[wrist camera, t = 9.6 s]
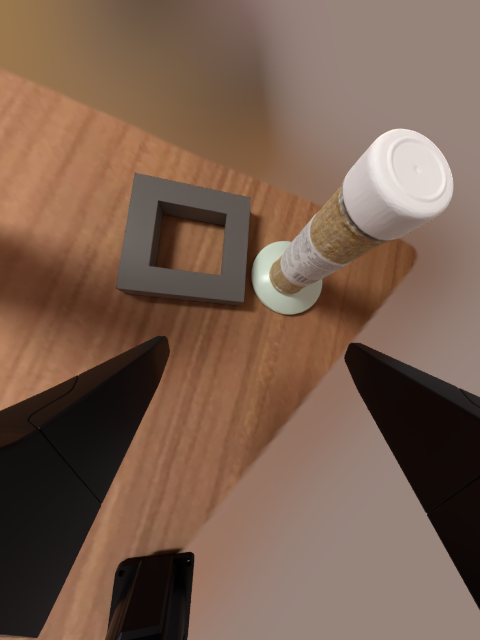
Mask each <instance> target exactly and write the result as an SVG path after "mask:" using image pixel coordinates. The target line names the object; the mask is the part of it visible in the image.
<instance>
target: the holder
mask: <svg viewBox="0 0 480 640" xmlns="http://www.w3.org/2000/svg"><path fill="white" fill-rule="evenodd" d="M250 201H251V198H250V197H245V196H241V195H236V194H231V193H227V192H222V191H217V190H213V189H208V188H204V187H199V186H194V185H190V184H185V183H180V182H176V181H171V180H166V179H162V178H157V177H152V176H148V175H143V174H138V173H135V174H134V180H133V187H132V193H131V199H130V205H129V211H128V217H127V223H126V229H125V236H124V242H123V248H122V254H121V260H120V266H119V272H118V278H117V285H116V288H117V289H118V290H120V291H122V292H124V293H125V294H132V295H142V296H151V297H161V298H171V299H180V300H190V301H199V302H209V303H218V304H228V305H238V306H241V305H242V304H243V302H244V293H245V277H246V262H247V247H248V232H249V217H250ZM163 214H164V215H170V216H175V217H181V218H186V219H192V220H197V221H203V222H208V223H214V224H219V225H225V232H224V244H223V256H222V268H221V276H220V275H212V274H205V273H197V272H190V271H182V270H174V269H167V268H159V267H156V262H157V255H158V247H159V240H160V233H161V225H162V218H163Z"/></svg>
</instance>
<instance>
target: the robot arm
mask: <svg viewBox="0 0 480 640" xmlns="http://www.w3.org/2000/svg"><path fill="white" fill-rule="evenodd" d="M169 353H170V349H169V344H168V339H167V337H166V336H157V337H155V338H153V339H151V340H149V341H146V342H144V343H142V344H140V345H138V346H136V347H134V348H132V349H130V350H128V351H126V352H124V353H122V354H120V355H118V356H116V357H114V358H112V359H110V360H108V361H106V362H104V363H102V364H100V365H98V366H96V367H94V368H92V369H90V370H88V371H85V372H83V373H81V374H80V375H79V376H75V377H73V378H71V379H69V380H67V381H65V382H63V383H61V384H59V385H57V386H55V387H52V388H50V389H48V390H46V391H44V392H42V393H39V394H37V395H35V396H33V397H31V398H28V399H26V400H24V401H22V402H19V403H17V404H15V405H13V406H10V407H8V408H6V409H3V410H1V411H0V637H13V638H37V637H38V636H39V634H40V632H41V630H42V628H43V626H44V624H45V622H46V620H47V618H48V616H49V614H50V612H51V610H52V608H53V606H54V604H55V602H56V599H57V597H58V595H59V593H60V591H61V589H62V587H63V585H64V583H65V581H66V578H67V576H68V574H69V572H70V570H71V568H72V566H73V564H74V562H75V560H76V557H77V555H78V553H79V551H80V549H81V547H82V545H83V543H84V541H85V539H86V536H87V534H88V532H89V530H90V528H91V526H92V524H93V522H94V520H95V518H96V515H97V513H98V511H99V509H100V507H101V503H102V502H103V500H104V498H105V496H106V494H107V492H108V490H109V488H110V486H111V484H112V482H113V479H114V477H115V475H116V473H117V471H118V469H119V467H120V465H121V463H122V461H123V458H124V456H125V454H126V452H127V450H128V448H129V446H130V444H131V442H132V440H133V437H134V435H135V433H136V431H137V429H138V427H139V425H140V423H141V421H142V419H143V416H144V414H145V412H146V410H147V408H148V406H149V404H150V402H151V400H152V398H153V395H154V393H155V391H156V389H157V387H158V385H159V383H160V380H161V377H162V374H163V372H164V369H165V366H166V363H167V360H168V357H169ZM344 359H345V362H346V365H347V367H348V369H349V371H350V374H351V376H352V379H353V381H354V383H355V385H356V387H357V390H358V392H359V393H360V395H361V397H362V399H363V401H364V402H365V404H366V406H367V408H368V410H369V411H370V413H371V415H372V417H373V419H374V420H375V422H376V424H377V426H378V428H379V429H380V431H381V433H382V434H383V437H384V438H385V440H386V442H387V444H388V445H389V447H390V449H391V451H392V452H393V455H394V456H395V458H396V460H397V461H398V464H399V465H400V467H401V469H402V471H403V472H404V474H405V476H406V478H407V480H408V482H409V483H410V485H411V487H412V489H413V490H414V492H415V494H416V496H417V498H418V500H419V501H420V503H421V505H422V507H423V509H424V510H425V512H426V513H427V516H428V518H429V520H430V521H431V523H432V525H433V527H434V528H435V530H436V532H437V534H438V536H439V538H440V539H441V541H442V543H443V545H444V547H445V548H446V550H447V552H448V554H449V556H450V557H451V559H452V561H453V563H454V565H455V566H456V568H457V570H458V572H459V574H460V575H461V577H462V579H463V581H464V583H465V584H466V586H467V588H468V590H469V592H470V594H471V595H472V597H473V599H474V601H475V603H476V604H477V606H478V608H479V610H480V397H478V396H476V395H474V394H471V393H469V392H467V391H464V390H462V389H460V388H457V387H456V386H454V385H451V384H449V383H447V382H445V381H443V380H441V379H438V378H436V377H434V376H432V375H429V374H427V373H425V372H423V371H421V370H418V369H416V368H414V367H412V366H410V365H407V364H405V363H403V362H401V361H399V360H396V359H394V358H392V357H390V356H388V355H385V354H383V353H381V352H379V351H376V350H374V349H372V348H370V347H368V346H365V345H363V344H361V343H350V344H349V346H348V348H347V351H346V354H345V357H344ZM188 560H190V561H188ZM193 569H194V554H193V553H192V552H185V553H178V554H170V555H163V556H156V557H148V558H141V559H133V560H126V561H122V562H121V563H120V564H119V565H118V568H117V570H116V573H115V578H114V586H113V593H112V601H111V608H110V616H109V623H108V630H107V635H106V638H105V640H187V637H188V627H189V615H190V603H191V592H192V580H193ZM122 570H124V571H122Z"/></svg>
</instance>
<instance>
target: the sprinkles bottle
mask: <svg viewBox="0 0 480 640" xmlns="http://www.w3.org/2000/svg"><path fill="white" fill-rule="evenodd" d="M452 193H453V178H452V173H451V170H450V167H449V165H448V163H447V161H446V159H445V157H444V155H443V154H442V153H441V151H440V150H439V149H438V148H437V146H436V145H435V144H434V143H433V142H432V141H430V140H429V139H428V138H426V137H425V136H423V135H421V134H419V133H418V132H415V131H412V130H407V129H395V130H390V131H388V132H386V133H384V134H382V135H381V136H380V137H378V138H377V139H376V140H375V141H374V142H373V143H372V145H371V146H370V147H369V148H368V149H367V150H366V152H365V153H364V154H363V155H362V156H361V157H360V159H359V160H358V161H357V162H356V163H355V164H354V166H353V167H352V168H351V169H350V171H349V172H348V173H347V175H346V177H345V179H344V181H343V182H342V184H341V187H340V188H339V189H338V190H337V191H336V192H335V193H334V194H333V196H332V197H331V198H330V199H329V201H328V202H327V203H326V204H325V205H324V206H323V207H322V209H321V210H320V211H319V212H318V213H317V214H315V216H314V217H313V218H312V219H311V220H310V222H309V223H308V224H307V225H306V226H305V227H304V229H303V230H302V231H301V232H300V233H299V235H298V236H297V237H296V238H295V239H294V240H293V242H292V243H291V244H290V245H289V246H288V247H287V249H286V250H285V251H284V253H283V254H282V255H281V257H280V258H279V259H278V260H277V261H275V262H274V263H273V264H272V267H271V268H270V272H269V278H270V281H271V283H272V285H273V287H274V288H275V289H276V290H277V291H279V292H280V293H283V294H286V295H292V294H295V293H298V292H299V291H300V290H301V289H302V288H304V287H306V286H309V285H311V284H313V283H315V282H317V281H319V280H321V279H322V278H324V277H326V276H328V275H330V274H332V273H333V272H335V271H337V270H339V269H341V268H343V267H344V266H346V265H348V264H350V263H351V262H353V261H354V260H355V259H357V258H358V257H360V256H362V255H363V254H365V253H367V252H368V251H370V250H372V249H374V248H376V247H378V246H379V245H381V244H382V243H387V242H389V241H391V240H393V239H397V238H400V237H402V236H404V235H406V234H408V233H409V232H411V231H413V230H415V229H417V228H418V227H420V226H422V225H424V224H425V223H427V222H429V221H431V220H432V219H434V218H436V217H437V216H439V215H440V214H441V213H442V212H443V211H444V210H445V209H446V207H447V206H448V204H449V203H450V200H451V198H452Z"/></svg>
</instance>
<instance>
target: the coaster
mask: <svg viewBox="0 0 480 640" xmlns="http://www.w3.org/2000/svg"><path fill="white" fill-rule="evenodd" d="M291 243H292V242H288V241H280V242H275V243H272V244H270V245H268V246H266V247H265V248H263V249H262V250H261V251H260V253H259V254H258V255H257V257H256V259H255V260H254V263H253V265H252V269H251V283H252V287H253V290H254V292H255V294H256V296H257V297H258V299H259V300H260V301H261V302H262V303H263V305H265V306H266V307H267V308H269V309H270V310H272V311H274V312H276V313H280V314H285V315H292V314H297V313H301V312H303V311H305V310H307V309H309V308H310V307H311V306H312V305H313V304H314V303H315V302H316V301H317V299H318V297H319V295H320V293H321V289H322V279H321V280H319V281H317V282H315V283H313V284H311V285H309V286H306V287H304V288H302V289H301V290H300V291H299V292H298V293H295V294H292V295H286V294H283V293H280V292H279V291H277V290H276V289H275V288H274V287H273V285H272V283H271V281H270V278H269V272H270V268H271V267H272V264H273V263H274V262H275V261H277V260H278V259H279V258H280V257H281V255H282V254H283V253H284V251H285V250H286V249H287V247H288V246H289V245H290V244H291Z"/></svg>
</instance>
